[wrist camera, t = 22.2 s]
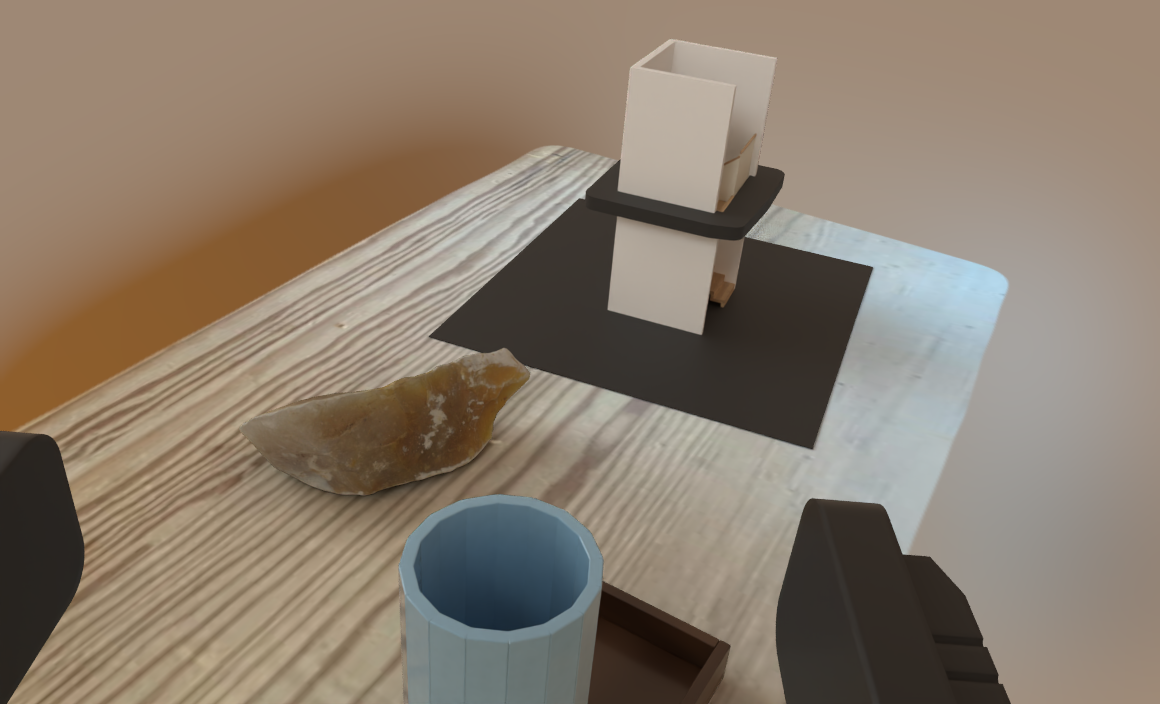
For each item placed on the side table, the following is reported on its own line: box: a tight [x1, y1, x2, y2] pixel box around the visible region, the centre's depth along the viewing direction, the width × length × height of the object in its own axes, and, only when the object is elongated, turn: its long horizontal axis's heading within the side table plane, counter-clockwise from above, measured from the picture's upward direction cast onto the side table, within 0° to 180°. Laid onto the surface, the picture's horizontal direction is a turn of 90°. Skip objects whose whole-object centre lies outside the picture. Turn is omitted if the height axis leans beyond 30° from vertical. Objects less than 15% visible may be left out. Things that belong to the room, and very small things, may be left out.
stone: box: [239, 348, 530, 496], centre depth 49 cm, size 7×6×15 cm
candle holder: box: [429, 39, 873, 449], centre depth 62 cm, size 25×24×16 cm
